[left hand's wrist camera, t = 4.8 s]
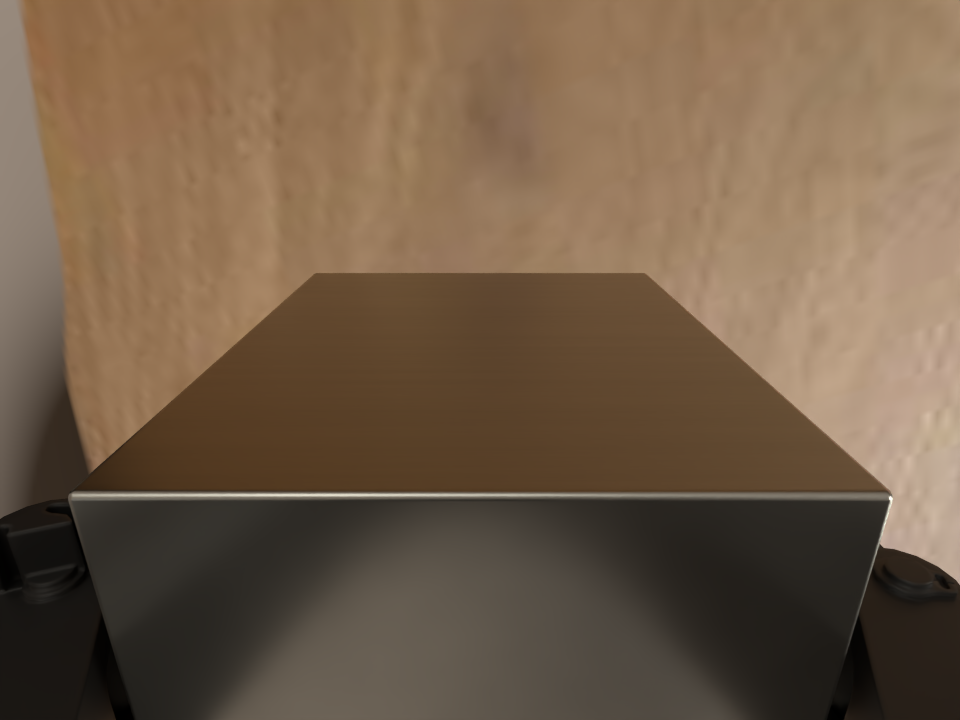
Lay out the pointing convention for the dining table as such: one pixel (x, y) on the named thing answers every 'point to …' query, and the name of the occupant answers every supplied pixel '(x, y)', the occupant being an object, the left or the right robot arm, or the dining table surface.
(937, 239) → the dining table surface
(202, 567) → the box
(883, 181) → the dining table surface
